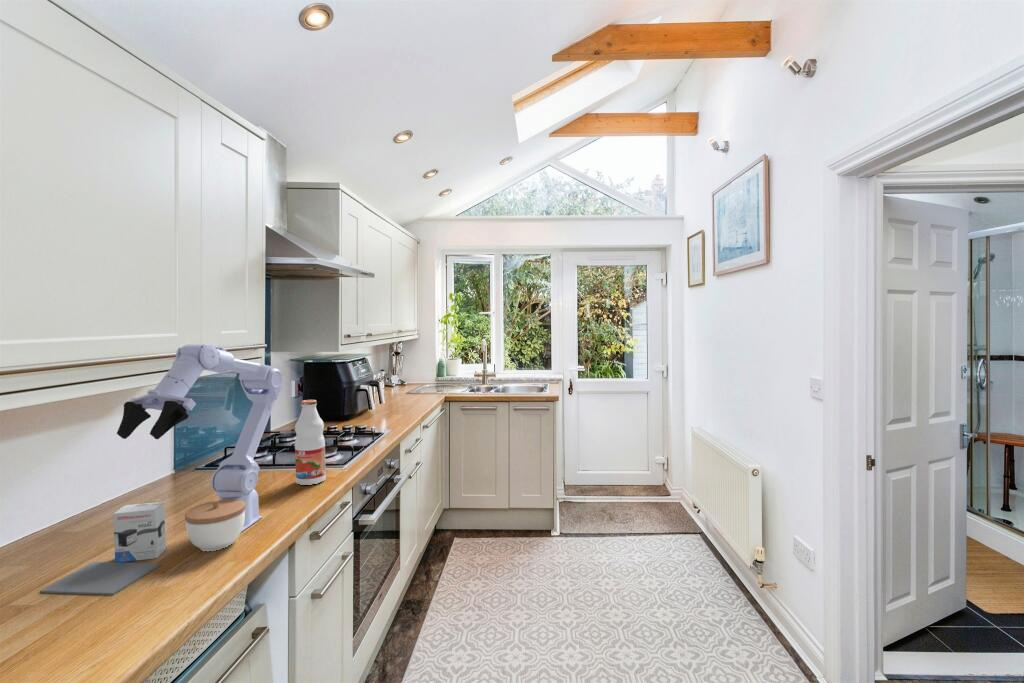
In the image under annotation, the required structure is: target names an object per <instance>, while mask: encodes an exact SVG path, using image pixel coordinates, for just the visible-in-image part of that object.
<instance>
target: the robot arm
mask: <svg viewBox="0 0 1024 683" xmlns="http://www.w3.org/2000/svg"><path fill="white" fill-rule="evenodd" d="M204 371H209V372H214V373H219V374H226V373H229V372H230V371H231V372H234V373H237V374H239V375H238V380H239V381H240V382H239V384H240V386H241V388H242V390H243V392H244V393H245V396H246V398H247V399H248V400H250V401H251V402H252V405H251V409H250V411H249V413H248V415H247V418H246V420H245V422H244V426H243V428H242V430H241V432H240V435H239V437H238V440H237V442H236V445H235V447H234V450H233V451H232V454H231V455H230V456H229V457H227V458H225V459H224V460H222V461H221V462H220V463H219V466H218V468H217V469H215V471H214V472H213V474H212V476H211V479H210V486H211V489H212V491H213V492H215V493H216V496H217V497H219V498H218V500H223V499H238V500H242V501H244V502H245V522H244V526H243V529H242V531H241V533H243V531H245V530H246V529H248V528H249V527H251V526H252V525H254V524H255V523H256V522H258V521H259V520H260V518H261V517H262V518H263V516H262V515H260V514H259V513H260V512H259V511H260V510H259V495H258V492H257V491H256V489H255V488H256V486H257V484H258V480H259V479H258V476H259V472H260V466H259V464H258V463H257V462H256V461H255V460H254V458H255V456H256V453H257V450H258V448H259V445H260V442H261V440H262V437H263V434H264V432H265V429H266V427H267V424H268V422H269V419H270V416H271V414H272V412H273V408H274V406H275V403H276V401H277V400H278V398H279V395H280V392H281V389H282V388H283V387H282V386H283V385H284V379H283V375H282V373H281V370H280V369H278V368H273V367H272V366H271V365H269V364H268V365H266V364H263V363H259V362H253V361H248V360H243V359H239V358H235V356H234V355H233V353H231V352H229V351H227V349H226V348H225V347H217V348H216V346H215V345H214V344H212V343H211V344H208V343H199V344H197V343H194V344H193V343H186V344H184V345H183V346H182V347H180V346H179V347H178V349H177V351H176V353H175V359H174V361H173V362H172V366H171V367H170V368H169V370H168V371H167V372H166V374H165V375H164V376H163V377H162V379H161V380H160V382H159V383H158V384H157V385H156V386H155V388H154V389H148V391H147V393H146V394H144V395H141V396H137V397H131V399H130V400H129V401H125V402H124V404H123V414H122V418H121V422H120V425H119V427H118V430H117V432H116V435H117V436H118V437H119V438H121V439H123V440H124V439H125V440H126V439H127V438H129V437H130V435H132V433H134V431H135V430H136V429H137V428H138V427H139V426H140V425H141V424H142V423H143V422H145V421H147V420H148V419H149V418H151V417H152V415H151V414H150V413H149V412H147V411H146V410H148V409H150V410H151V409H153V410H158V411H161V412H160V414H159V417H158V418H157V420H156V421H155V423H154V425H153V426H152V427H151V430H150V431H149V435H150V436H151V437H152V438H154V439H155V440H159V439H161V438H162V437H163V436H164V435H165V434H166V433H167V432H168V431H170V430H171V429H172V428H174V427H175V426H176V425H179V423H182V422H183V421H185V420H187V419H189V417H190V415H189V414H188V413H187V411H189V412H190V411H193V409H194V407H195V406H196V405H197V404H196V402H195V400H193V399H192V398H191V397H186V395H187V394H188V392H189V391H190V390H191V388H192V387H193V385H194V384H195V383H196V381H197V380H198V379H199V377H200V376H201V374H202V373H203V372H204ZM262 518H261V519H262ZM253 523H254V524H253Z"/></svg>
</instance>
